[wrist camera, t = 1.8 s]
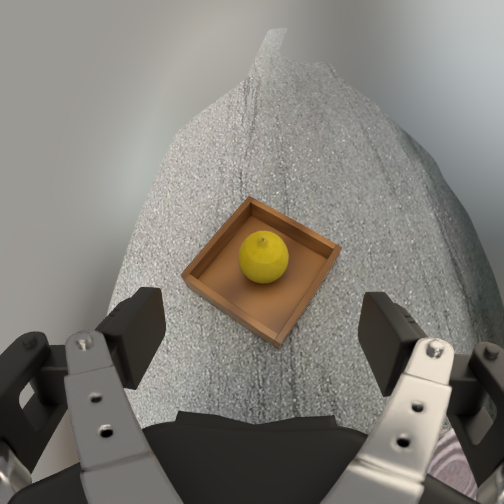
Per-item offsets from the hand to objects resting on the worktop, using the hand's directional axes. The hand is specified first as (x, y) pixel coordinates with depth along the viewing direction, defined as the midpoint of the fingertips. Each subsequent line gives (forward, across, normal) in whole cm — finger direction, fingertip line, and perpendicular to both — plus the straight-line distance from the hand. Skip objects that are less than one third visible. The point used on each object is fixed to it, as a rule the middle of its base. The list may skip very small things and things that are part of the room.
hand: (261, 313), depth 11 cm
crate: (+24, 0, +8) cm, 26 cm away
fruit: (+24, 0, +8) cm, 25 cm away
